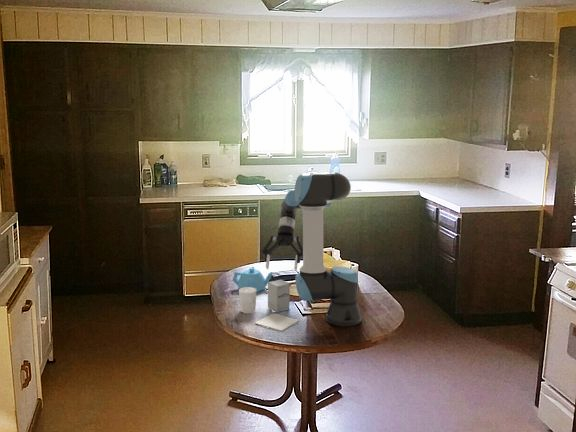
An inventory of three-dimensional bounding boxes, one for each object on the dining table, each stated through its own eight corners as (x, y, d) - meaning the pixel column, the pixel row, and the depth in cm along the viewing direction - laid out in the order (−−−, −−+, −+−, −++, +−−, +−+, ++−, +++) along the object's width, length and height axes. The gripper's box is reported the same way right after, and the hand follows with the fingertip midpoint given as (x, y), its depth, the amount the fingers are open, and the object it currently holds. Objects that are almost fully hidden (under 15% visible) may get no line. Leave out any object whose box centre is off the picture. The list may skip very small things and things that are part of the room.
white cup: (254, 314, 276) (253, 293, 273) (237, 313, 277) (236, 292, 275) (258, 308, 283) (258, 287, 281) (241, 307, 285) (241, 286, 282)
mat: (298, 321, 268) (299, 320, 268) (281, 331, 257) (281, 330, 257) (272, 314, 275) (272, 313, 275) (255, 324, 265) (254, 322, 265)
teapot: (254, 281, 320) (253, 261, 317) (273, 289, 309) (273, 268, 307) (230, 288, 309) (230, 268, 307) (250, 296, 299) (249, 275, 296)
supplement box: (276, 313, 278) (276, 286, 275) (267, 308, 283) (267, 281, 281) (289, 309, 282) (290, 283, 279) (280, 304, 288) (280, 278, 285)
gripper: (313, 232, 299) (308, 272, 289) (262, 231, 304) (256, 270, 294) (310, 225, 292) (306, 266, 282) (259, 224, 297) (253, 264, 287)
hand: (281, 268), depth 288 cm, fingers open, 13 cm apart
